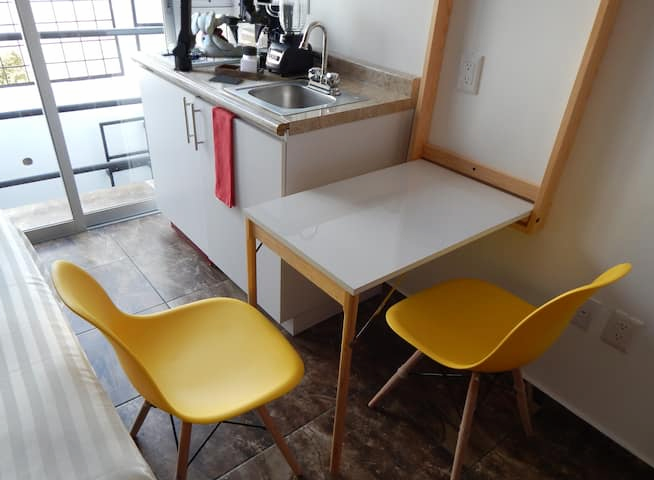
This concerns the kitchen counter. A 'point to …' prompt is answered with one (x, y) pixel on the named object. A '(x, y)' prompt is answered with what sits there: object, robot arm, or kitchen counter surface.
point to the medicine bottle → (250, 59)
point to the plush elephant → (213, 36)
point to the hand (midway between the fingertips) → (246, 43)
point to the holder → (237, 72)
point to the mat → (226, 79)
